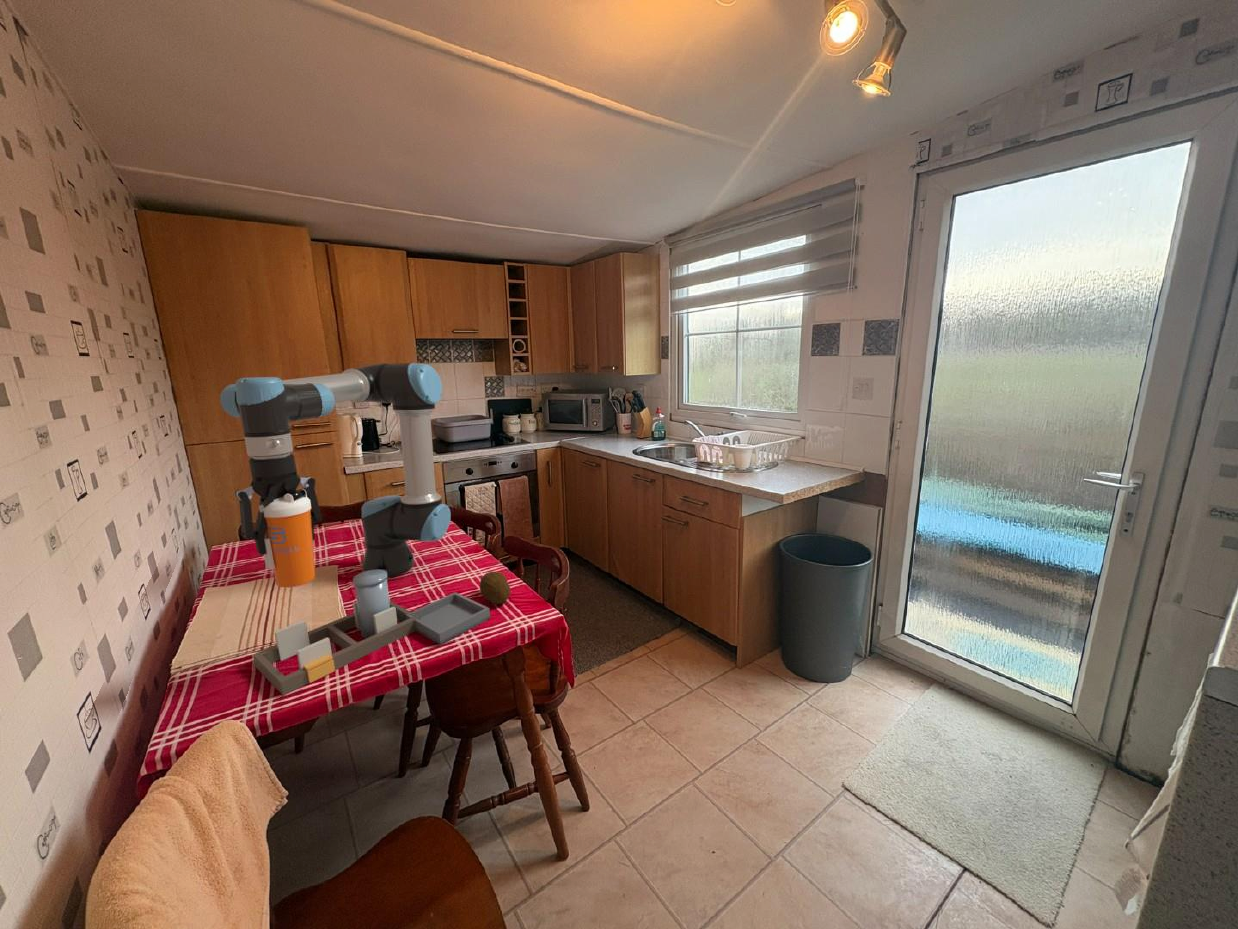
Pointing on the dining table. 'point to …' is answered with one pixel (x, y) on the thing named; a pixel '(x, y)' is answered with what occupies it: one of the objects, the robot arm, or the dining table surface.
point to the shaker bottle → (291, 538)
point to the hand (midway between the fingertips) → (290, 561)
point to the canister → (371, 598)
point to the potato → (495, 587)
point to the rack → (328, 646)
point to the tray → (449, 617)
